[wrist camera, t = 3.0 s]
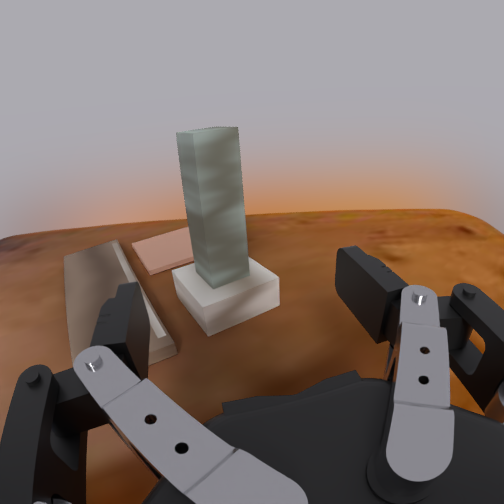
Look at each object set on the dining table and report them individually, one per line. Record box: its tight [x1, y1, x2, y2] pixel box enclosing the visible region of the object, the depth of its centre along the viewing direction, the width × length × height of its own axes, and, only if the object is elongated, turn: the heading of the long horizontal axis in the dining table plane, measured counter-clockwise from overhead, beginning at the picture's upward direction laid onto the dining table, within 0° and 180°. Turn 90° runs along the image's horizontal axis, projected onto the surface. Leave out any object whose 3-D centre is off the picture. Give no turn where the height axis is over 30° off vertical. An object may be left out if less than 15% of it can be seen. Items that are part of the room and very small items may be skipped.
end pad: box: [132, 227, 194, 275], centre depth 34 cm, size 8×8×1 cm
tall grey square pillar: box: [172, 127, 280, 336], centre depth 22 cm, size 6×6×13 cm
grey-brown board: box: [64, 240, 178, 366], centre depth 26 cm, size 7×21×1 cm, turn 32°
